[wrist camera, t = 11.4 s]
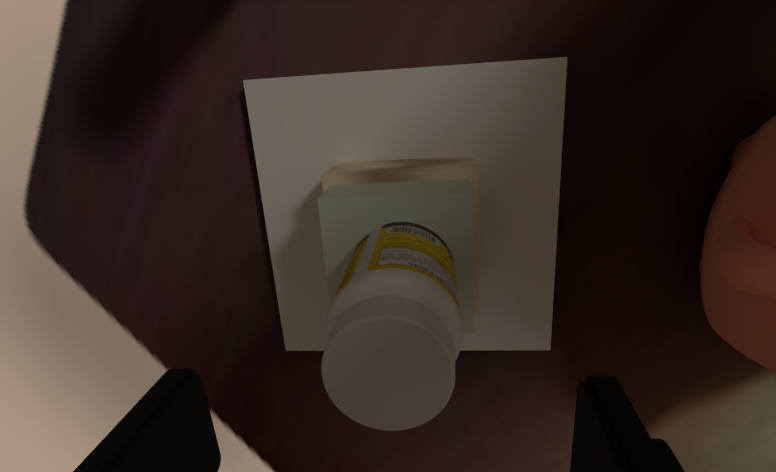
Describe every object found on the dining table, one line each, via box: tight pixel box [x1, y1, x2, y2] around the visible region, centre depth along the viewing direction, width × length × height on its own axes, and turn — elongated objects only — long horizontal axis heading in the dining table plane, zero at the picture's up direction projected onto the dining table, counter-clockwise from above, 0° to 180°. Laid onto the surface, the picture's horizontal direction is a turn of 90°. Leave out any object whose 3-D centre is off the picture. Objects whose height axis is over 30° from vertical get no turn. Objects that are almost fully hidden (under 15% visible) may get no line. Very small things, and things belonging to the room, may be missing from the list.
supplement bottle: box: [321, 220, 463, 431], centre depth 17 cm, size 5×5×8 cm
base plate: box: [243, 57, 567, 351], centre depth 28 cm, size 18×18×1 cm
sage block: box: [317, 179, 474, 334], centre depth 22 cm, size 7×7×3 cm
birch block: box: [321, 156, 479, 313], centre depth 26 cm, size 8×8×4 cm
